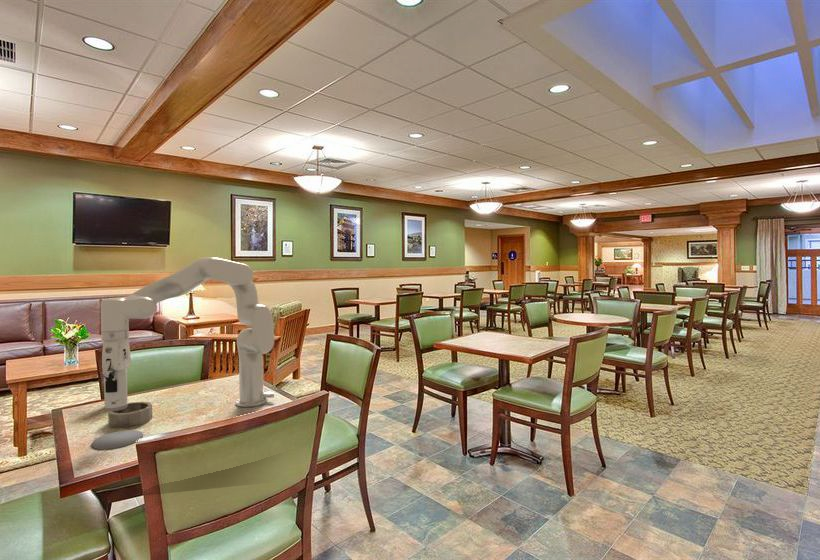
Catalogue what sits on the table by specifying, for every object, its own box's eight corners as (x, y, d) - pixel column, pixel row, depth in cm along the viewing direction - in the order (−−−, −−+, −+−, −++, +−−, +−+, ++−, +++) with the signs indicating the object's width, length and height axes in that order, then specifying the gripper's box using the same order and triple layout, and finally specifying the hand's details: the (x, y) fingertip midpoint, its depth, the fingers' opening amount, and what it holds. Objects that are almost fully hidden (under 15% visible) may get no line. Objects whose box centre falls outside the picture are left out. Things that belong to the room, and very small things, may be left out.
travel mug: (116, 412, 138) (115, 351, 137) (99, 410, 139) (98, 350, 138) (132, 406, 144) (131, 347, 143) (116, 404, 145) (115, 346, 144)
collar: (157, 413, 167) (156, 400, 167) (143, 426, 154) (143, 412, 154) (118, 415, 164) (118, 403, 164) (101, 429, 151) (101, 415, 151)
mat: (149, 430, 150) (149, 428, 150) (132, 447, 137) (132, 445, 137) (104, 433, 147) (104, 431, 147) (82, 451, 134) (82, 449, 134)
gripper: (116, 339, 133) (117, 396, 133) (138, 331, 150) (139, 381, 150) (88, 340, 131) (90, 398, 132) (114, 331, 148) (115, 382, 149)
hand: (116, 388), depth 141 cm, fingers closed on travel mug, 6 cm apart
